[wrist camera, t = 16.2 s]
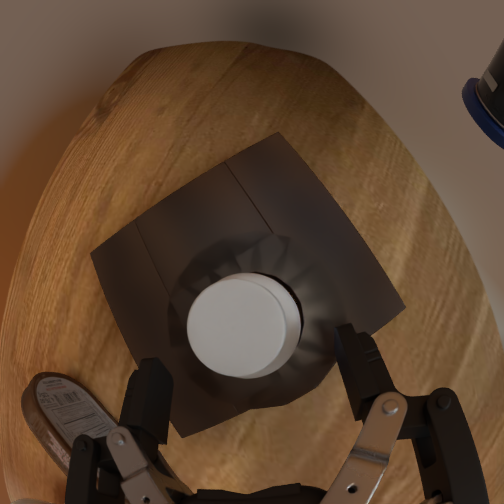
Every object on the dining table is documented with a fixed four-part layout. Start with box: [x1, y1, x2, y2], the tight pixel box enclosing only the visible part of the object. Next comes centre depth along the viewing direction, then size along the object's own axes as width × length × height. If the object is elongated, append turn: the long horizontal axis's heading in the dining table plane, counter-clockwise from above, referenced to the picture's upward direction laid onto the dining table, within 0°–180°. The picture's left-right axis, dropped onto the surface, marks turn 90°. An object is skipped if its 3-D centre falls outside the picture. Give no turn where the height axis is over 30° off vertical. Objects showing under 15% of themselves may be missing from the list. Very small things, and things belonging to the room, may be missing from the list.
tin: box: [21, 372, 131, 504], centre depth 15 cm, size 15×3×8 cm, turn 50°
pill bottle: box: [187, 273, 301, 379], centre depth 15 cm, size 6×5×10 cm
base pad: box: [90, 132, 406, 438], centre depth 19 cm, size 18×17×3 cm
